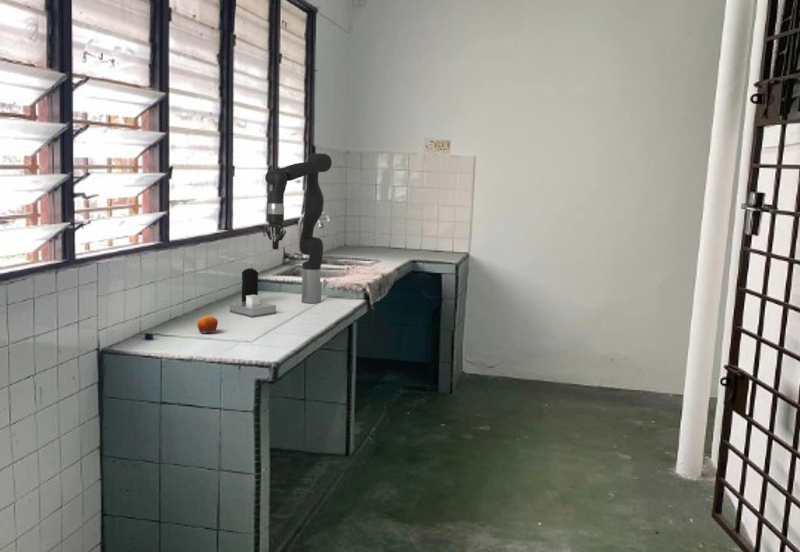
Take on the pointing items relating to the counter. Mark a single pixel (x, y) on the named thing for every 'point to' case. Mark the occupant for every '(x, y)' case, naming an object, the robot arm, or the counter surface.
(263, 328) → the counter surface
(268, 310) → the socket
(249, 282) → the aerosol can
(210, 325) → the fruit
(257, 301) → the white plain square block
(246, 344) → the counter surface
